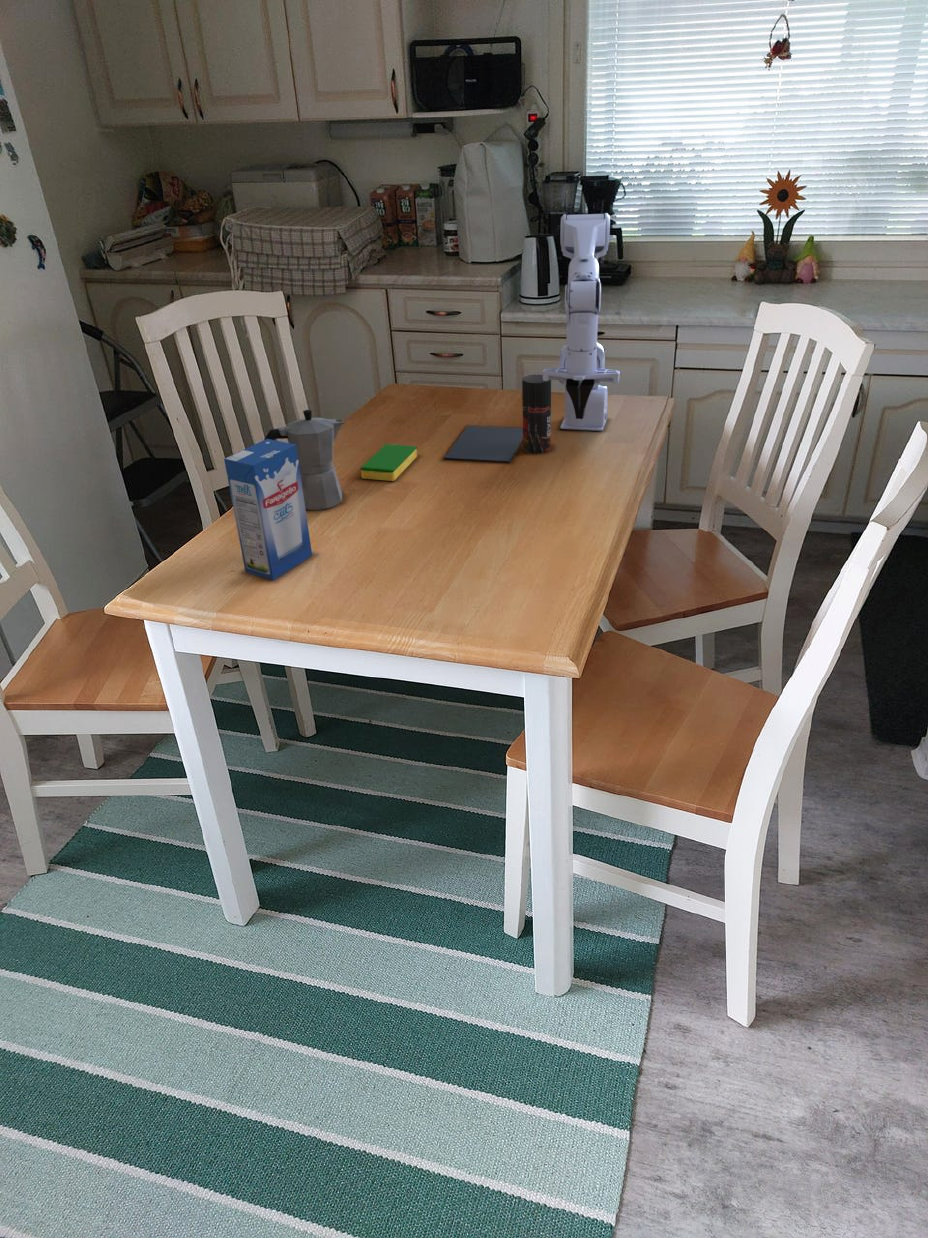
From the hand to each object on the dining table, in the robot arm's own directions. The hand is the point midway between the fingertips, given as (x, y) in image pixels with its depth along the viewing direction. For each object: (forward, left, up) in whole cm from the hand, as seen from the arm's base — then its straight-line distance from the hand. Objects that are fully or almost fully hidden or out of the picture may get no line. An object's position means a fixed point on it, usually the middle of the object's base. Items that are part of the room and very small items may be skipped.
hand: (580, 417), depth 180 cm
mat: (+21, -10, -10) cm, 26 cm away
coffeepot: (+47, +25, -11) cm, 55 cm away
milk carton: (+43, +50, -11) cm, 67 cm away
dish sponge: (+38, +6, -11) cm, 40 cm away
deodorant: (+10, -9, -11) cm, 17 cm away
